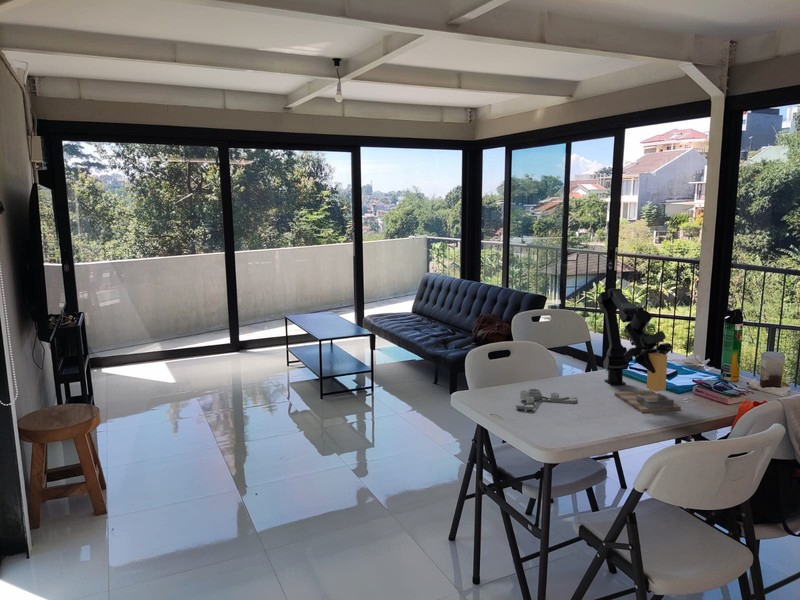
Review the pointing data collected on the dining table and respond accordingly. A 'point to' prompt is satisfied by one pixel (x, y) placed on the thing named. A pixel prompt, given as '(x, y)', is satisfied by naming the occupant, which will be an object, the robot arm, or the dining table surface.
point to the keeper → (647, 401)
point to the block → (657, 372)
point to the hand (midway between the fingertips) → (659, 371)
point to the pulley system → (536, 394)
